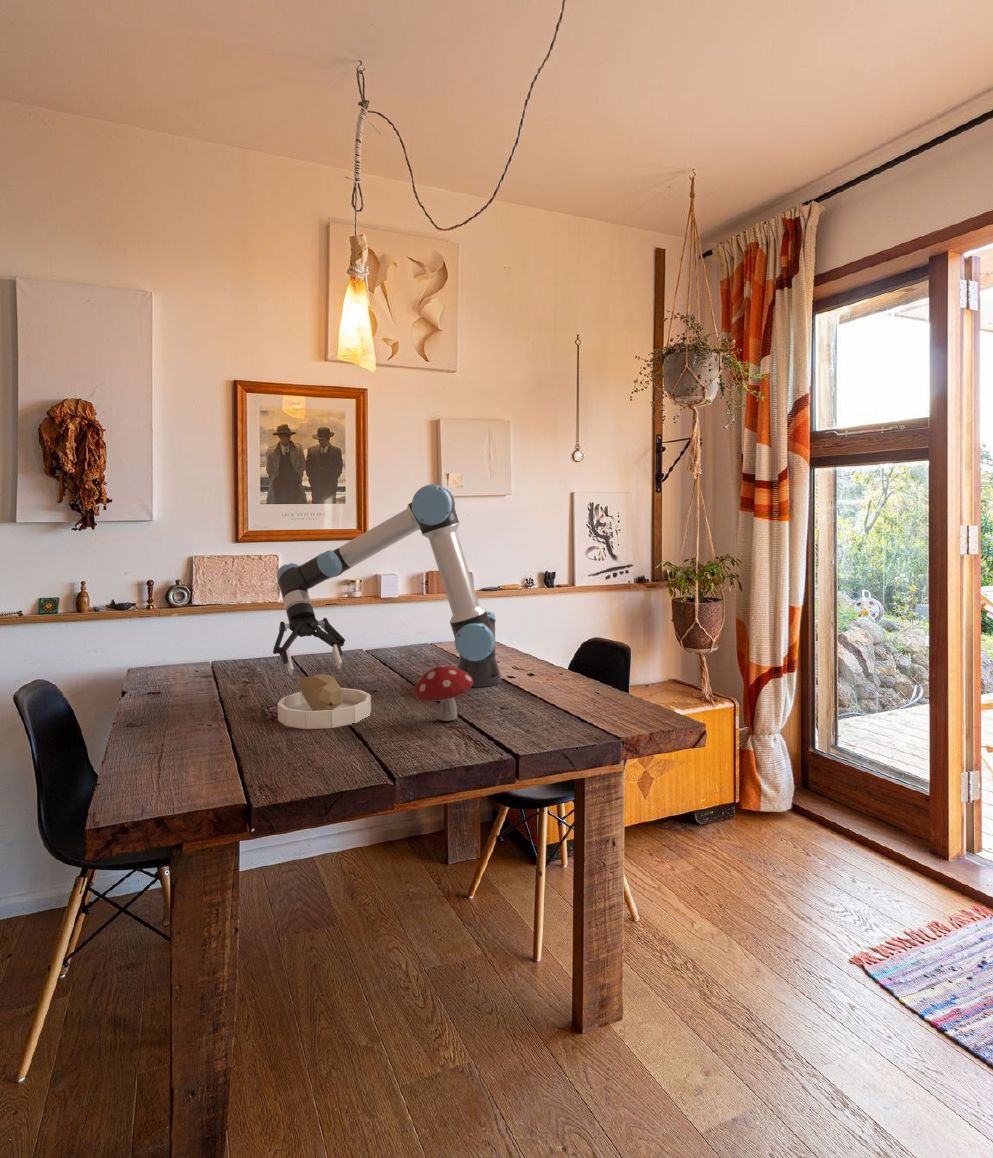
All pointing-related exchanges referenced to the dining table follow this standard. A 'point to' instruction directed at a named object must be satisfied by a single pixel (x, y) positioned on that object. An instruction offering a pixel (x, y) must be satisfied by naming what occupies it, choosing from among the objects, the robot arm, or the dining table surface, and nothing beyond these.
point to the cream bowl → (324, 711)
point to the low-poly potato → (321, 692)
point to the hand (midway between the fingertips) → (316, 668)
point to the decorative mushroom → (443, 689)
